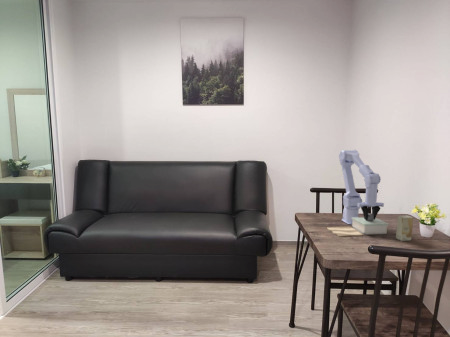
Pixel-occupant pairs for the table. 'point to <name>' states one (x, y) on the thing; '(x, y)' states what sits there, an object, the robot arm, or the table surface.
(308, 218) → the table surface
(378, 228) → the storage box
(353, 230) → the birch board
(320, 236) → the table surface
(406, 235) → the skincare box
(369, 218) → the lid
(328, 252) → the table surface
